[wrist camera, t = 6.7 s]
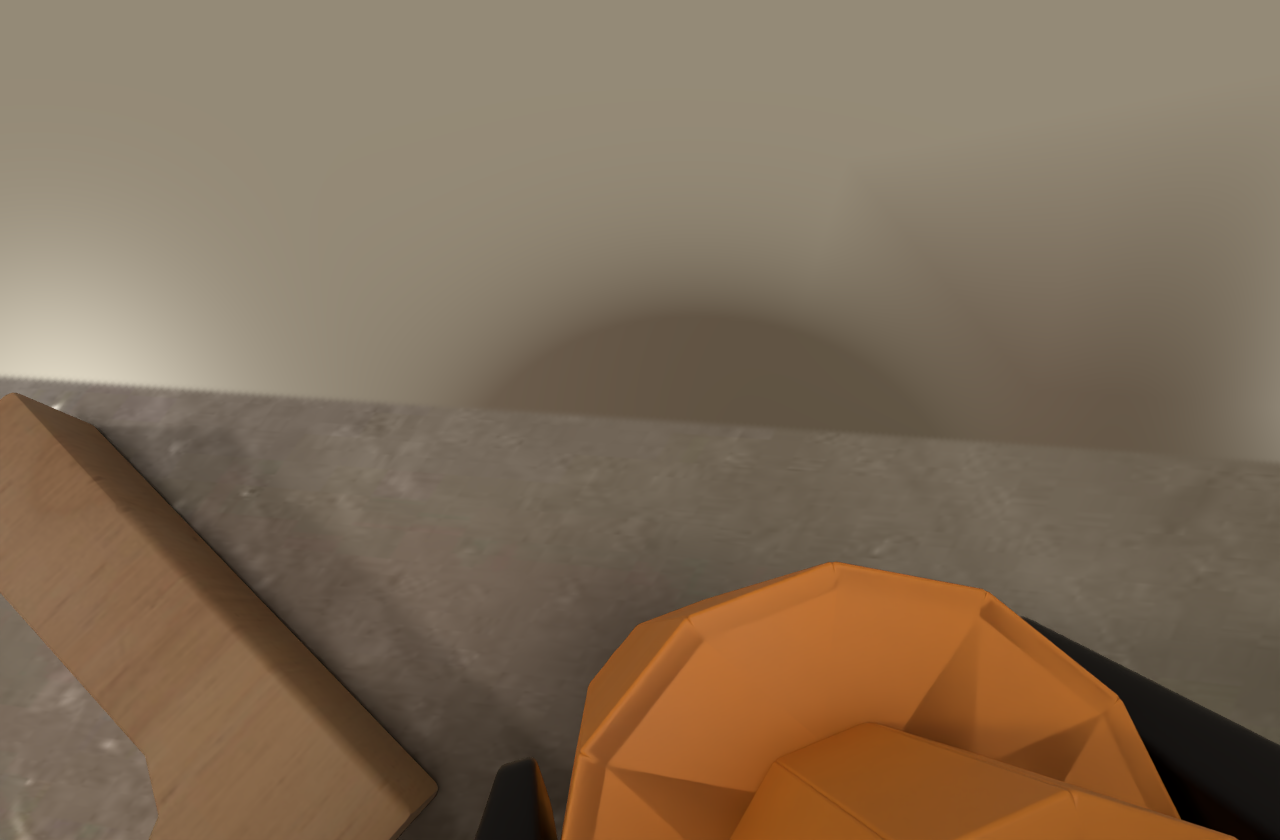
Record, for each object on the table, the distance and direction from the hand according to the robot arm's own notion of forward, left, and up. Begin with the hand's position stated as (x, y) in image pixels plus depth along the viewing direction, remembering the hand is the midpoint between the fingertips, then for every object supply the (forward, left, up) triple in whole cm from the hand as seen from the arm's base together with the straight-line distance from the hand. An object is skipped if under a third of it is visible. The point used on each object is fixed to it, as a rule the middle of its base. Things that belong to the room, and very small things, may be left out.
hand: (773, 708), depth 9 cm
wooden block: (-3, +10, -11) cm, 15 cm away
